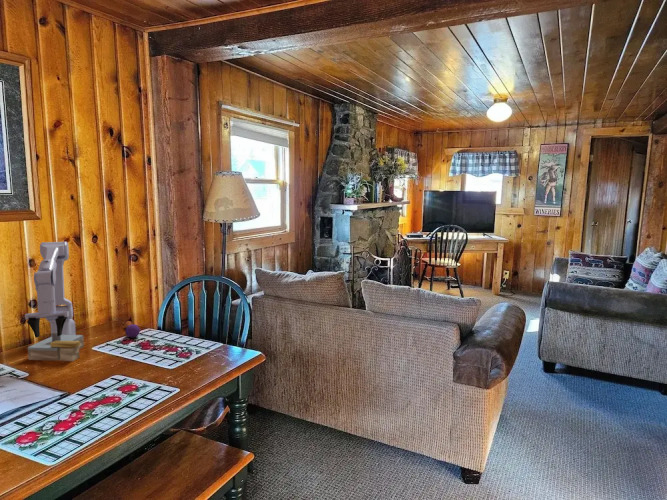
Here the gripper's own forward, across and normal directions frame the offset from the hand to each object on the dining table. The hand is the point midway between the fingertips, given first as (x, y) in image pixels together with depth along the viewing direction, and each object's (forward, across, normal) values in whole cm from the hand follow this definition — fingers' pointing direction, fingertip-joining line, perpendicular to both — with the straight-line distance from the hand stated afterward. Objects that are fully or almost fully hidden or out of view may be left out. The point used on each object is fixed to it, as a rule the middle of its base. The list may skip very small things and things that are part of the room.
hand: (48, 336), depth 167 cm
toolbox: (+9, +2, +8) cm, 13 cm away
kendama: (+9, +22, +32) cm, 40 cm away
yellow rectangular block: (+4, +5, +1) cm, 7 cm away
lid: (+6, -1, +9) cm, 11 cm away
